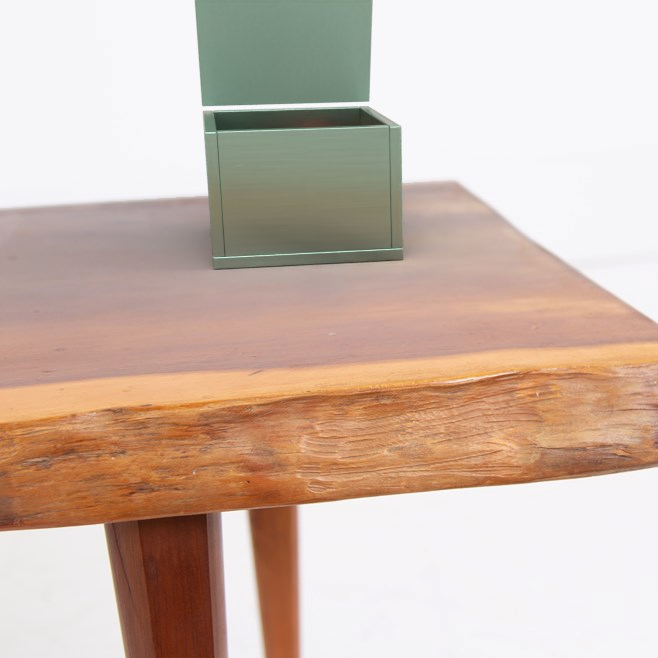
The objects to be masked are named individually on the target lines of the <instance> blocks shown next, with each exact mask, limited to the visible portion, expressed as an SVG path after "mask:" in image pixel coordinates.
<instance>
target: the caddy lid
mask: <svg viewBox="0 0 658 658" xmlns="http://www.w3.org/2000/svg"><path fill="white" fill-rule="evenodd" d="M373 1H374V0H194V11H195V23H196V24H195V26H196V38H197V39H196V40H197V53H198V55H197V56H198V66H199V67H198V68H199V81H200V93H201V94H200V95H201V96H200V97H201V106H202V107H228V106H229V107H230V106H231V107H232V106H261V105H264V106H266V105H299V104H332V103H333V104H337V103H367V102H368V103H369V102H370V98H371V97H370V95H371V94H370V93H371V68H372V67H371V66H372V65H371V63H372V34H373V32H372V31H373V4H374V3H373Z"/></svg>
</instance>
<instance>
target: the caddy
mask: <svg viewBox="0 0 658 658" xmlns="http://www.w3.org/2000/svg"><path fill="white" fill-rule="evenodd" d="M202 124H203V125H202V126H203V140H204V150H205V151H204V154H205V168H206V181H207V195H208V210H209V211H208V212H209V224H210V225H209V227H210V237H211V239H210V240H211V250H212V251H211V252H212V265H213V269H214V270H224V269H243V268H244V269H245V268H263V267H264V268H265V267H266V268H267V267H284V266H301V265H302V266H304V265H305V266H306V265H321V264H343V263H363V262H382V261H400V260H403V259H404V229H403V227H404V225H403V224H404V221H403V214H404V213H403V147H402V146H403V143H402V141H403V140H402V139H403V138H402V137H403V136H402V133H403V132H402V126H401V125H400V124H399V123H397V122H395V121H394V120H392V119H391V118H389V117H387V116H386V115H384V114H382V113H380V111H377V110H376V109H374V108H372V106H371V107H370V106H369V105H362V106H361V105H359V106H358V105H356V106H355V105H353V106H352V105H351V106H349V105H348V106H320V107H319V106H318V107H285V108H284V107H283V108H250V109H216V110H215V109H214V110H202Z"/></svg>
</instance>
